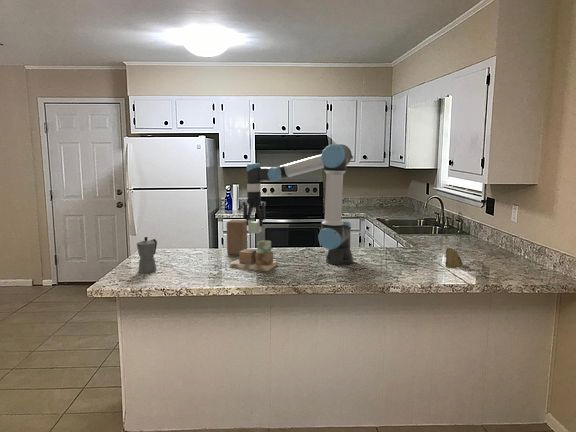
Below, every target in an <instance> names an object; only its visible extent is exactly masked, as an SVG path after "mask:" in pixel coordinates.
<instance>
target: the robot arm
mask: <svg viewBox="0 0 576 432" xmlns="http://www.w3.org/2000/svg"><path fill="white" fill-rule="evenodd" d="M352 154H353V153H352V151H351V148H350V147H348V146H347V145H345V144H338V143H331V144H329V145H326V147H325V148H324V149H322V151H321V154H318V155H314V156H310V157H307V158H303V159H300V160H297V161H293V162H290V163H286V164H281V165H278V166H261V164H260V163H259V162H258V163H253V162H252V163H247V165H246V180H247V181H246V182H247V184H246V185H247V186H246V191H247V192H246V195H247V200H245V201H242V205H243V213H242V214H243V220H246V221H247V227H248V222H251V221H252V219H251V215H252V212H253V209H254V208H255V210H256V213H257V217H258V220H257V221H258V232H260V233H262V227H263V226H264V224H263V223H264V220H266V219H267V217H266V216H267V215H266V205H267V202H266V201H262V198H261V197H262V195H261V182H262V181H264V182H278V181H280V180H285V179H288V178H290V177H295V176H298V175H301V174H306V173H309V172H314V171H316V170H320V169H323V171H324V172H325V174H326V175H325V176H326V177H325V179H326V180H325V202H324V204H325V205H324V219H323V220H322V221H321V228H320V229H321V230H320V231H319V232H318V235H317V236H318V242H319V244H320V246H321V247H323V248H324V249H326V250H328V251H327V253H326V256H325V262H326V263H328V264H331V265H335V266H336V265H338V266H341V265H344V266H345V265H346V266H347V265H351V264H352V263H354V257H353V253H352V250H351V234H352V233H351V231H352V230H351V228H352V226H351V223H350V221H346V220H342V209H343V208H342V206H343V205H342V204H343V186H344V184H343V182H344V175H345V173H346V172H347V167H348V166H347V165H348V164H349V163H350V162H351V160H352V157H353V156H352Z"/></svg>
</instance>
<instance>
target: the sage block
mask: <svg viewBox="0 0 576 432" xmlns="http://www.w3.org/2000/svg"><path fill="white" fill-rule="evenodd" d="M258 221H259V220H256V221H255V220H251V222H248V226H247V234H259V233H261V232H258Z"/></svg>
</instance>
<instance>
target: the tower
mask: <svg viewBox="0 0 576 432" xmlns="http://www.w3.org/2000/svg"><path fill="white" fill-rule="evenodd" d="M256 244H257V245H256V248H257V249H256V250H257V253H256V265H266V266H268V265H270V264H271V263H273V261H274V251H272V241H271V240H266V239H262V240H258V241H257V242H256Z"/></svg>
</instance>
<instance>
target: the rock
mask: <svg viewBox="0 0 576 432" xmlns="http://www.w3.org/2000/svg"><path fill="white" fill-rule="evenodd" d="M460 266H463V260H462V259H461V257H460V256H459V254H458V251H457V250H455V249H453V248H451V247H447V248H446V250H445V265H444V267H445V268H447V269H449V268H451V269H452V268H457V267H460Z"/></svg>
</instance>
